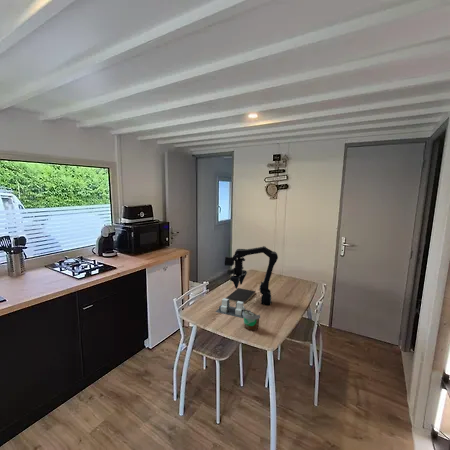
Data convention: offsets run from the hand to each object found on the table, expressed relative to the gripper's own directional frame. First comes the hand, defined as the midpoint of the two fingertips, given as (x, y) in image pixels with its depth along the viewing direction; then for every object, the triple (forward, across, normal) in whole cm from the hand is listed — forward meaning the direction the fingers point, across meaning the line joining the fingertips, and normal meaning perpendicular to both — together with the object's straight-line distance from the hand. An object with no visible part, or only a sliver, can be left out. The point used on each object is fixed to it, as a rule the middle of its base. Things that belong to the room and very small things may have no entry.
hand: (238, 286), depth 191 cm
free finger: (+11, +17, +8) cm, 22 cm away
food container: (+12, +32, +20) cm, 40 cm away
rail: (+12, +17, +3) cm, 21 cm away
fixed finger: (+11, +17, -3) cm, 21 cm away
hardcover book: (+13, -9, -2) cm, 16 cm away
